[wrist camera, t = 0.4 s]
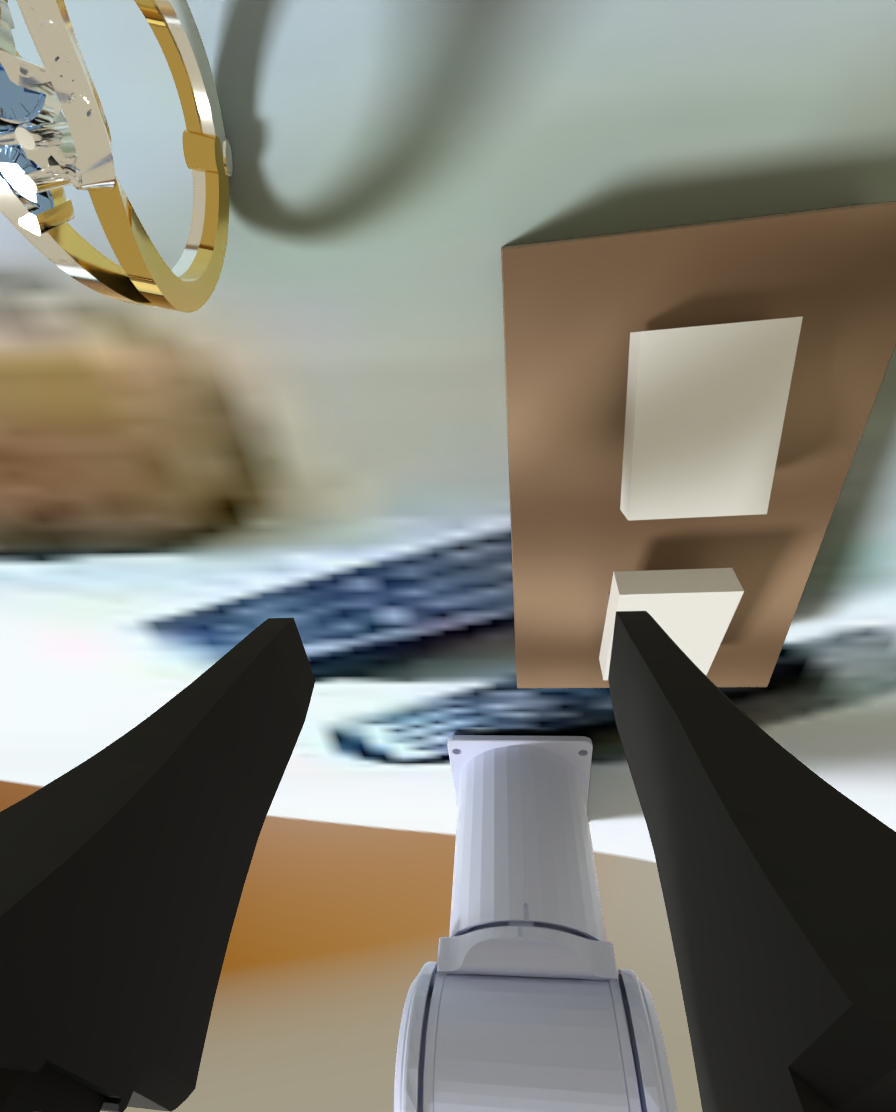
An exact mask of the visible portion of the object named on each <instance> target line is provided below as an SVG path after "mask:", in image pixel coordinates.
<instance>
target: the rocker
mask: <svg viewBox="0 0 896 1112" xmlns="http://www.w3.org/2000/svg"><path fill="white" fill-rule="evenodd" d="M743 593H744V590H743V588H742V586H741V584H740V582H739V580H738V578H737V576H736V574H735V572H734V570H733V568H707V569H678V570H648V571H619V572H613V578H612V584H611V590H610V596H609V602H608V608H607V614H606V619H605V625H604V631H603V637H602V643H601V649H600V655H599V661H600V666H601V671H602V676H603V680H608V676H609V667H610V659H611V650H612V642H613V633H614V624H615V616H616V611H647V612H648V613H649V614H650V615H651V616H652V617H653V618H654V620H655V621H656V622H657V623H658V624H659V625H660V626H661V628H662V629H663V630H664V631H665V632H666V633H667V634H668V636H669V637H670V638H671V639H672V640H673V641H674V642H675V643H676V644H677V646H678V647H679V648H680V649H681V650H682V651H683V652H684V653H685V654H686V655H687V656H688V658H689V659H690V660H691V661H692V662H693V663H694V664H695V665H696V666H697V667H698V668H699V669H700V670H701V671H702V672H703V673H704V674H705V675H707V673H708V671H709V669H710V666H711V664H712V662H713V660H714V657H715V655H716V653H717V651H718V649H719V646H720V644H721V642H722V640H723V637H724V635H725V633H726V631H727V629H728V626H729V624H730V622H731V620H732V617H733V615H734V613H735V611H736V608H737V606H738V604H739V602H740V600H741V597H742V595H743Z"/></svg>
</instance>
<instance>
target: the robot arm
mask: <svg viewBox="0 0 896 1112" xmlns="http://www.w3.org/2000/svg"><path fill="white" fill-rule="evenodd" d="M608 682H609V687H610V693H611V699H612V705H613V710H614V715H615V720H616V725H617V728H618V732H619V735H620V738H621V742H622V745H623V748H624V752H625V755H626V758H627V762H628V765H629V768H630V771H631V775H632V778H633V781H634V784H635V788H636V791H637V794H638V797H639V801H640V804H641V807H642V810H643V814H644V817H645V820H646V823H647V827H648V830H649V834H650V838H651V842H652V846H653V849H654V853H655V858H656V863H657V867H658V872H659V877H660V882H661V886H662V891H663V896H664V901H665V906H666V911H667V916H668V921H669V926H670V931H671V936H672V941H673V946H674V951H675V957H676V962H677V966H678V972H679V978H680V983H681V989H682V994H683V1000H684V1005H685V1011H686V1016H687V1022H688V1027H689V1033H690V1038H691V1044H692V1050H693V1056H694V1062H695V1068H696V1074H697V1080H698V1085H699V1092H700V1098H701V1104H702V1110H703V1112H896V832H895V831H893V830H892V829H890V828H889V827H888V826H886V825H885V824H883V823H882V822H881V821H879V820H878V819H876V818H875V817H874V816H872V815H871V814H869V813H868V812H867V811H865V810H864V809H862V808H861V807H860V806H858V805H857V804H855V803H854V802H853V801H851V800H850V799H848V798H847V797H846V796H844V795H843V794H841V793H840V792H839V791H837V790H836V789H835V788H833V787H832V786H831V785H829V784H828V783H827V782H826V781H824V780H823V779H822V778H820V777H819V776H818V775H816V774H815V773H814V772H813V771H811V770H810V769H809V768H808V767H806V766H805V765H804V764H803V763H801V762H800V761H799V760H798V759H796V758H795V757H794V756H793V755H792V754H790V753H789V752H788V751H787V750H785V749H784V748H783V747H782V746H780V745H779V744H778V743H777V742H776V741H775V740H773V739H772V738H771V737H770V736H769V735H768V734H767V733H765V732H764V731H763V730H762V729H761V728H760V727H759V726H758V725H756V724H755V723H754V722H753V721H752V720H751V719H750V718H749V717H748V716H747V715H746V714H745V713H743V712H742V711H741V710H740V709H739V708H738V707H737V706H736V705H735V704H734V703H733V702H732V701H731V700H730V699H729V698H728V697H727V696H726V695H725V694H723V693H722V692H721V691H720V690H719V688H718V687H717V686H716V685H715V684H714V683H713V682H712V681H711V680H710V679H709V678H708V677H707V676H706V675H705V674H704V673H703V672H702V671H701V670H700V669H699V668H698V667H697V666H696V665H695V664H694V663H693V662H692V661H691V660H690V659H689V658H688V656H687V655H686V654H685V653H684V652H683V651H682V650H681V649H680V648H679V647H678V646H677V644H676V643H675V642H674V641H673V640H672V639H671V638H670V637H669V636H668V634H667V633H666V632H665V631H664V630H663V629H662V628H661V626H660V625H659V624H658V623H657V622H656V621H655V620H654V618H653V617H652V616H651V615H650V614H649V613H648V612H647V611H616V616H615V624H614V633H613V642H612V650H611V659H610V667H609V676H608ZM314 683H315V678H314V675H313V673H312V670H311V667H310V664H309V661H308V658H307V655H306V652H305V650H304V647H303V644H302V641H301V638H300V635H299V632H298V629H297V627H296V624H295V621H294V618H269V619H267V620H266V621H265V622H264V623H262V624H261V625H260V626H259V627H257V628H256V629H255V630H254V631H252V632H251V633H250V634H249V635H248V636H247V637H245V638H244V639H243V640H242V641H241V642H240V643H238V644H237V645H236V646H235V647H234V648H233V649H231V650H230V651H229V652H228V653H227V654H226V655H224V656H223V657H222V658H221V659H220V660H219V661H217V662H216V663H215V664H214V665H213V666H211V667H210V668H209V669H208V670H207V671H206V672H204V673H203V674H202V675H201V676H200V677H198V678H197V679H196V680H195V681H194V682H193V683H191V684H190V685H189V686H188V687H186V688H185V689H184V690H182V691H181V692H180V693H179V694H177V695H176V696H175V697H174V698H172V699H171V700H170V701H169V702H167V703H166V704H165V705H163V706H162V707H161V708H160V709H158V710H157V711H156V712H155V713H153V714H152V715H151V716H150V717H148V718H147V719H146V720H144V721H143V722H141V723H140V724H139V725H137V726H136V727H135V728H133V729H132V730H130V731H129V732H128V733H126V734H125V735H124V736H122V737H121V738H119V739H118V740H116V741H115V742H113V743H112V744H110V745H109V746H107V747H106V748H105V749H103V750H102V751H100V752H99V753H97V754H96V755H94V756H93V757H91V758H90V759H88V760H87V761H85V762H83V763H82V764H80V765H79V766H77V767H75V768H74V769H72V770H70V771H69V772H67V773H66V774H64V775H62V776H61V777H59V778H57V779H56V780H54V781H53V782H51V783H49V784H48V785H46V786H44V787H43V788H41V789H39V790H38V791H36V792H35V793H33V794H31V795H30V796H28V797H26V798H25V799H23V800H21V801H19V802H18V803H16V804H14V805H12V806H10V807H9V808H7V809H5V810H3V811H1V812H0V1112H100V1110H101V1111H109V1112H123V1111H124V1110H125V1109H126V1108H127V1107H136V1108H146V1109H154V1110H163V1111H172V1110H174V1109H176V1108H177V1107H178V1106H179V1105H180V1104H182V1102H184V1101H185V1100H186V1099H187V1098H188V1097H189V1095H190V1094H191V1093H192V1092H193V1090H194V1089H195V1086H196V1081H197V1076H198V1071H199V1066H200V1061H201V1057H202V1052H203V1048H204V1043H205V1038H206V1034H207V1029H208V1025H209V1020H210V1016H211V1011H212V1006H213V1002H214V997H215V993H216V989H217V985H218V981H219V977H220V973H221V969H222V965H223V961H224V957H225V953H226V949H227V945H228V941H229V937H230V933H231V929H232V926H233V922H234V919H235V915H236V912H237V908H238V904H239V901H240V897H241V893H242V890H243V886H244V883H245V880H246V876H247V873H248V870H249V866H250V863H251V860H252V857H253V853H254V850H255V847H256V843H257V840H258V837H259V834H260V831H261V829H262V826H263V823H264V820H265V818H266V815H267V813H268V810H269V808H270V805H271V803H272V800H273V798H274V796H275V793H276V791H277V788H278V786H279V783H280V781H281V779H282V776H283V774H284V771H285V769H286V766H287V764H288V762H289V759H290V757H291V754H292V752H293V749H294V747H295V744H296V742H297V739H298V737H299V734H300V732H301V729H302V727H303V724H304V721H305V718H306V714H307V711H308V707H309V704H310V700H311V696H312V692H313V687H314ZM447 746H448V752H449V758H450V764H451V770H452V776H453V782H454V788H455V794H456V801H457V807H458V814H457V829H456V844H455V859H454V875H453V889H452V904H451V919H450V934H449V935H450V936H449V937H441V938H439V949H438V961H437V962H432V961H429V962H427V963H425V964H424V966H423V967H422V969H421V971H420V973H419V974H418V975H417V977H416V978H415V979H414V981H413V982H412V984H411V986H410V988H409V991H408V994H407V997H406V1001H405V1005H404V1010H403V1014H402V1019H401V1025H400V1032H399V1039H398V1048H397V1056H396V1069H395V1086H394V1112H678V1111H677V1106H676V1100H675V1094H674V1089H673V1084H672V1079H671V1073H670V1068H669V1064H668V1059H667V1054H666V1049H665V1045H664V1040H663V1036H662V1032H661V1028H660V1024H659V1020H658V1016H657V1012H656V1009H655V1005H654V1002H653V999H652V996H651V994H650V992H649V990H648V988H647V987H646V986H645V985H644V984H643V983H642V982H641V981H640V980H639V979H638V978H637V976H636V974H635V972H634V971H633V970H631V969H619V971H618V973H617V967H616V960H615V954H614V948H613V944H612V943H611V942H607V937H606V931H605V924H604V918H603V912H602V906H601V899H600V892H599V887H598V880H597V873H596V867H595V861H594V854H593V848H592V841H591V835H590V829H589V822H588V816H587V810H586V809H587V799H588V789H589V779H590V769H591V759H592V749H593V746H592V741H591V739H590V738H589V737H586V736H515V735H453V736H451V737H449V738H448V745H447Z"/></svg>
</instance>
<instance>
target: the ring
mask: <svg viewBox="0 0 896 1112" xmlns="http://www.w3.org/2000/svg"><path fill="white" fill-rule="evenodd" d="M134 1H135V2H136V4H137V5H138V7H139V8H140V10H141V11H142V13H143V15H144V16H145V18H146V20H147V21H148V23H149V25H150V27H151V28H152V30H153V32H154V34H155V36H156V38H157V40H158V42H159V44H160V46H161V48H162V51H163V53H164V55H165V58H166V60H167V62H168V65H169V67H170V70H171V73H172V76H173V78H174V81H175V84H176V88H177V91H178V94H179V98H180V101H181V105H182V109H183V113H184V118H185V122H186V127H187V130H184V132H183V149H184V156H185V160H186V164H187V166H188V168H189V169H192V173H193V212H192V221H191V228H190V233H189V237H188V240H187V244H186V247H185V249H184V252H183V254H182V256H181V258H180V260H179V261H178V263H177V264H176V265H175V267H174V268H173V269H172V270H170V269H169V267H168V266H167V265H166V263H165V262H164V261H163V259H162V258H161V256H160V255H159V253H158V251H157V250H156V248H155V247H154V245H153V243H152V242H151V240H150V238H149V236H148V235H147V233H146V231H145V229H144V228H143V226H142V224H141V222H140V220H139V218H138V217H137V215H136V213H135V211H134V209H133V207H132V205H131V203H130V202H129V200H128V198H127V196H126V194H125V192H124V190H123V188H122V186H121V184H120V182H119V180H118V178H117V176H116V174H115V170H114V162H113V157H112V153H111V150H112V145H111V136H110V131H109V127H108V123H107V120H106V117H105V114H104V111H103V108H102V105H101V102H100V100H99V97H98V94H97V92H96V89H95V87H94V84H93V81H92V79H91V76H90V74H89V71H88V69H87V66H86V63H85V61H84V58H83V56H82V53H81V50H80V48H79V45H78V42H77V39H76V37H75V34H74V31H73V28H72V25H71V22H70V19H69V16H68V13H67V10H66V7H65V4H64V0H17V3H18V5H19V8H20V11H21V13H22V16H23V18H24V21H25V23H26V25H27V28H28V30H29V33H30V35H31V37H32V40H33V42H34V44H35V47H36V49H37V51H38V53H39V56H40V58H41V60H42V62H43V65H44V67H43V66H41V65H38V64H36V63H33V62H30V61H28V60H25V59H23V58H22V57H21V56H20V55H19V54H18V53H17V51H16V49H15V43H14V39H13V35H12V32H11V29H14V28H15V27H14V23H13V19H12V16H11V13H10V10H9V7H8V5H7V2H8V0H0V211H1V213H2V214H3V215H4V216H5V217H6V218H7V219H8V220H9V221H10V222H11V223H12V224H13V225H14V227H15V228H16V229H17V230H18V231H19V232H20V233H21V234H22V235H23V236H24V237H25V238H26V239H27V240H28V241H29V242H30V243H31V244H32V245H33V246H34V247H35V248H37V249H38V250H39V251H40V252H41V253H42V254H43V255H44V256H45V257H47V258H48V259H49V260H50V261H51V262H53V263H54V264H55V265H56V266H58V267H59V268H60V269H61V270H63V271H64V272H66V273H67V274H68V275H70V276H71V277H73V278H74V279H76V280H77V281H79V282H81V283H82V284H84V285H86V286H88V287H89V288H91V289H93V290H95V291H97V292H100V293H102V294H104V295H107V296H109V297H112V298H114V299H117V300H121V301H124V302H128V303H133V304H138V305H143V306H148V307H153V308H159V309H169V310H175V311H181V312H194V311H196V310H198V309H199V308H201V307H202V306H203V305H204V304H205V303H206V302H207V300H208V299H209V298H210V296H211V294H212V293H213V291H214V289H215V286H216V284H217V282H218V279H219V276H220V273H221V269H222V265H223V261H224V256H225V251H226V244H227V235H228V223H229V177H231V176H232V171H233V161H232V152H231V146H230V143H229V141H228V140H226V139H225V132H224V126H223V120H222V115H221V109H220V104H219V100H218V95H217V91H216V87H215V83H214V79H213V75H212V71H211V68H210V64H209V61H208V57H207V54H206V51H205V48H204V45H203V42H202V39H201V36H200V33H199V31H198V28H197V25H196V23H195V20H194V18H193V15H192V13H191V10H190V8H189V6H188V3H187V1H186V0H134ZM61 108H62V110H63V112H64V115H65V117H64V115H63V114H62V112H61ZM71 184H72V185H73V186H74V187H75V188H76V189H78V190H88V191H89V194H90V197H91V199H92V202H93V205H94V207H95V210H96V212H97V215H98V217H99V220H100V222H101V225H102V227H103V229H104V232H105V234H106V236H107V238H108V240H109V243H110V245H111V247H112V249H113V251H114V253H115V255H116V257H117V258H118V260H119V262H120V264H121V266H122V267H123V268H122V267H120V266H119V265H117V264H115V263H114V262H112V261H111V260H109V259H108V258H107V257H105V256H104V255H103V254H101V253H100V252H99V251H97V250H96V249H95V248H94V247H92V246H91V245H90V244H89V243H88V242H87V241H86V240H84V239H83V238H82V237H81V236H80V235H79V234H78V233H77V232H76V231H75V230H74V229H73V228H72V227H71V226H70V225H69V224H68V223H67V222H68V221H70V220H72V219H74V210H73V206H72V203H71V200H70V199H68V198H66V196H65V192H64V189H63V187H64V186H67V185H71Z"/></svg>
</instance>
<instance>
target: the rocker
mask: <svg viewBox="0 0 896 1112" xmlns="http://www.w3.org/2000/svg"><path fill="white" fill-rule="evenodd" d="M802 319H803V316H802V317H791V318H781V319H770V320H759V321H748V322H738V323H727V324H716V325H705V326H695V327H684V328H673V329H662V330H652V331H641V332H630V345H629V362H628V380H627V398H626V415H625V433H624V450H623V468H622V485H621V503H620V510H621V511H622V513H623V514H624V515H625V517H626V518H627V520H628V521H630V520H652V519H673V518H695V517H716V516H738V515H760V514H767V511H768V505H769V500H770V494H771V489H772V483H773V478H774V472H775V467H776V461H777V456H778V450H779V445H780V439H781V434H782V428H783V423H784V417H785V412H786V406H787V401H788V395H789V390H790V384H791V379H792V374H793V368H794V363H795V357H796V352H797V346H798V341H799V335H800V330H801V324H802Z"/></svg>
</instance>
